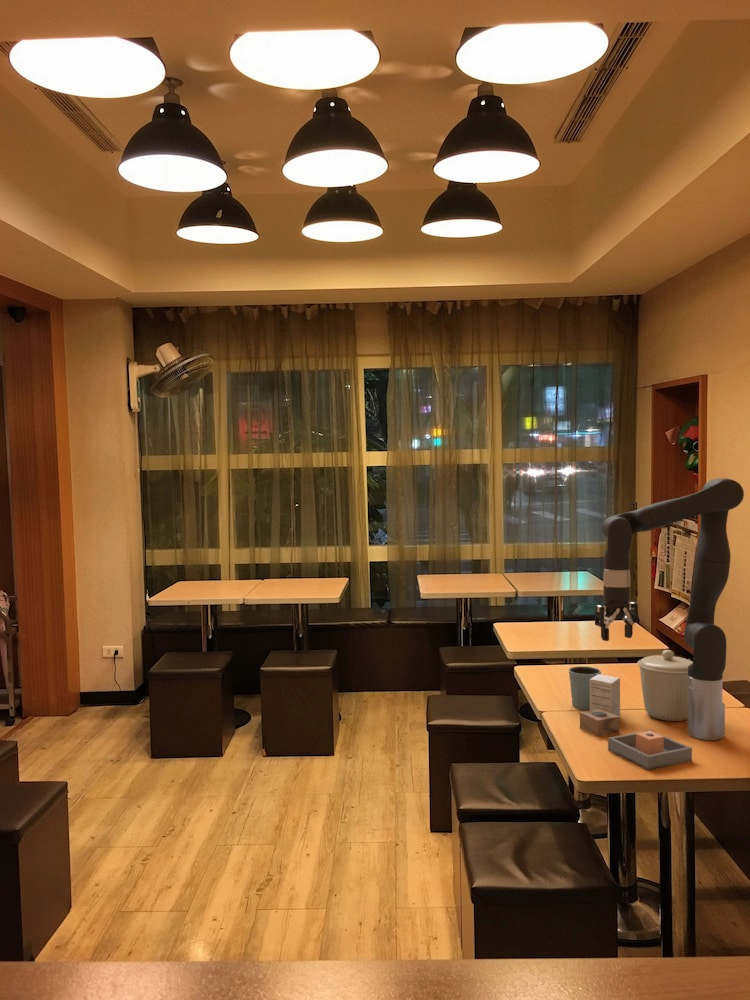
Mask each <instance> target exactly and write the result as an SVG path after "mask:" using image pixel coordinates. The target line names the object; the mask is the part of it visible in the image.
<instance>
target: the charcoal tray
mask: <svg viewBox="0 0 750 1000" xmlns="http://www.w3.org/2000/svg"><path fill="white" fill-rule="evenodd" d="M646 731H652V732H654V733H656V734H659V735H661V736H663V737H664V752H661V753H657V754H652V755H647V754H645V753H643V752H641V751H639V750H637V749H636V733H641V732H646ZM607 738H608V739H607V749H608V752H611V753H613V754H615V755H617V756H619V757H621V758H622V759H625V760H627V761H628V762H631V763H633V764H634V765H637V766H638V767H639V768H643V769H645V770H646V771H648V772H649V771H653V770H657V769H662V768H665V767H666V768H667V767H670V766H676V765H681V764H685V763H690V762H692V761H693V748H692V747H690V746H688V745H686V744H684V743H681V742H679V741H677V740H675V739H671V738H669V737H667V736H665V735H663V734H661V733H658V732H656V731H653V730H651V729H647V730H641V731H638V732H637V731H636V732H632V733H628V734H622V735H620V734H619V735H615V736H610V737H607Z"/></svg>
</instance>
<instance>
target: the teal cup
mask: <svg viewBox="0 0 750 1000" xmlns="http://www.w3.org/2000/svg"><path fill="white" fill-rule="evenodd" d="M598 674H600V675H602V671H601V670H600V669H599V668H596V667H592V666H584V665H583V666H581V665H580V666H573V667H570V668H569V670H568V675H569V681H570V682H569V683H570V693H571V704H572V707H574V708H575V709H577V710H578V709H579V710H584V711H590V679H591V678H593V677H594V676H596V675H598Z"/></svg>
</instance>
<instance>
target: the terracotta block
mask: <svg viewBox="0 0 750 1000" xmlns="http://www.w3.org/2000/svg"><path fill="white" fill-rule="evenodd" d="M645 731H646V732H641V731H640V732H641V733H636V732H635V733H636V749H637V750H639V751H641V752H643V753H645V754H647V755H652V754H657V753H661V752H664V737H663V736H664V735H663V736H661V735H662V734H660V733H658V734H656V733H657V732H656V733H654V732H655V731H654V732H652V731H653V730H651V731H647V730H645ZM659 734H660V735H659Z"/></svg>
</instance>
